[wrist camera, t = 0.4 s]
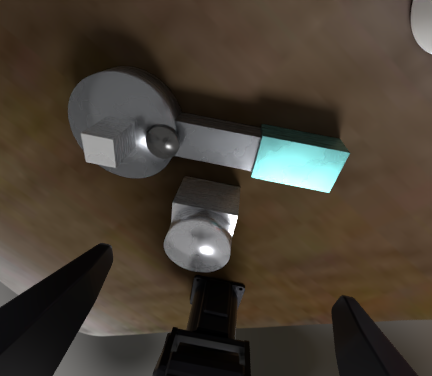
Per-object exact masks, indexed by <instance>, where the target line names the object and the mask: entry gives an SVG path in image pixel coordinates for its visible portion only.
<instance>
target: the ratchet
mask: <svg viewBox="0 0 432 376" xmlns="http://www.w3.org/2000/svg"><path fill="white" fill-rule="evenodd" d="M68 117H69V123H70V127H71V130H72V132H73V135H74V137H75V139H76V140H77V142H78V144H79V145H80V147H81V148H82V149H83V151H84V154H85V159H86V162H88V163H93V164H98V165H99V166H101V167H102V168H104V169H106V170H107V171H109V172H111V173H114V174H116V175H119V176H123V177H127V178H145V177H149V176H152V175H155V174H157V173H158V172H160V171H161V170H162V169H164V168H165V167H166V166H167V164H168V163H169V161H170V160H171V158H172V157H173V156H178V157H183V158H188V159H193V160H198V161H203V162H208V163H213V164H218V165H223V166H228V167H233V168H238V169H243V170H248V171H251V177H253V178H258V179H263V180H268V181H273V182H278V183H283V184H288V185H293V186H298V187H303V188H308V189H313V190H318V191H323V192H328V193H329V192H330V190H331V188H332V186H333V184H334V183H335V181H336V179H337V177H338V175H339V173H340V171H341V169H342V167H343V165H344V163H345V162H346V160H347V158H348V156H349V154H350V152H349V151H348V150H347V148H346V147H345V145H344V144H343V142H342V141H341V140H340V139H338V138H333V137H328V136H323V135H317V134H312V133H307V132H302V131H297V130H292V129H286V128H281V127H276V126H271V125H266V124H262V126H261V127H256V126H251V125H245V124H240V123H235V122H230V121H225V120H220V119H214V118H209V117H204V116H199V115H194V114H189V113H183V112H181V109H180V106H179V103H178V102H177V100H176V98H175V96H174V95H173V93H172V92H171V90H170V89H169V88H168V87H167V86H166V85H165V84H164V83H163V82H162V81H161V80H160V79H158V78H157V77H156V76H154V75H152V74H151V73H149V72H147V71H145V70H142V69H139V68H136V67H130V66H118V67H113V68H110V69H107V70H104V71H101V72H98V73H96V74H93V75H90V76H88V77H86V78H84V79H83V80H82V81H80V82H79V83H78V84H77V86H76V87H75V88H74V90H73V92H72V94H71V96H70V99H69V104H68Z"/></svg>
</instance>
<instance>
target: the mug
mask: <svg viewBox="0 0 432 376" xmlns="http://www.w3.org/2000/svg"><path fill="white" fill-rule="evenodd" d="M411 28H412V32H413V35H414V38H415V40H416V41H417V43H418V44H419V45H420V47H421V48H423V49H424V50H425V51H426V52H428V53H430V54H432V0H413V3H412V8H411Z"/></svg>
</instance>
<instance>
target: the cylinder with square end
mask: <svg viewBox="0 0 432 376" xmlns="http://www.w3.org/2000/svg"><path fill="white" fill-rule="evenodd" d="M239 198H240V187H238V186H233V185H228V184H223V183H218V182H213V181H208V180H203V179H198V178H193V177H188V176H184V178H183V181H182V183H181V185H180V187H179V189H178V191H177V194H176V196H175V198H174V200H173V202H172V219H171V225H170V228H169V230H168V233H167V235H166V238H165V240H164V249H165V252H166V254H167V256H168V257H169V258H170V259H171V260H172V261H173V262H174V263H175V264H177V265H178V266H180V267H182V268H185V269H187V270H190V271H195V272H212V271H216V270H218V269H220V268H222V267H223V266H225V265H226V264H227V262H228V261H229V258H230V251H231V242H232V236H233V232H234V228H235V225H236V221H237V217H238V209H239Z"/></svg>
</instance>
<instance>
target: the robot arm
mask: <svg viewBox="0 0 432 376" xmlns="http://www.w3.org/2000/svg"><path fill="white" fill-rule="evenodd" d="M112 263H113V253H112V246H111V245H109V244H105V243H100V244H98V245H96V246H95V247H93V248H92V249H90V250H88V251H87V252H85V253H84V254H82V255H81V256H79V257H78V258H76V259H74V260H73V261H71V262H70V263H68V264H67V265H65V266H64V267H62V268H60V269H59V270H57V271H56V272H54V273H53V274H51V275H50V276H48V277H46V278H45V279H43V280H42V281H40V282H39V283H37V284H36V285H34V286H32V287H31V288H29V289H28V290H26V291H25V292H23V293H22V294H20V295H18V296H17V297H15V298H14V299H12V300H11V301H9V302H8V303H6V304H5V305H3V306H1V307H0V376H53V374H54V372H55V371H56V369H57V367H58V366H59V364H60V362H61V360H62V359H63V357H64V355H65V354H66V352H67V350H68V348H69V347H70V345H71V343H72V341H73V340H74V338H75V336H76V334H77V333H78V331H79V329H80V328H81V326H82V324H83V322H84V321H85V319H86V317H87V315H88V314H89V312H90V310H91V308H92V307H93V305H94V303H95V301H96V299H97V297H98V295H99V292H100V290H101V288H102V286H103V283H104V281H105V279H106V277H107V274H108V272H109V270H110V268H111V265H112ZM244 291H245V286H244V285H242V284H238V283H233V282H229V281H224V280H219V279H214V278H210V277H205V276H200V275H196V276H195V277H194V282H193V288H192V294H191V300H190V304H192V307H191V312H190V316H189V321H188V325H187V329H186V330H182V329H178V328H177V327H173V329H172V332H171V333H168V334H167V337H166V341H165V345H164V348H163V351H162V353H161V355H160V357H159V360H158V362H157V365H156V367H155V369H154V372H153V376H251V374H250V373H251V371H250V348H249V341H246V340H245V341H241V340H236V339H235V334H236V319H237V309H238V307H239V304H240V301H241V299H242V296H243V294H244ZM332 322H333V332H334V343H335V352H336V359H337V365H338V369H339V375H340V376H418V375H417V374H416V372H415V371H414V370H413V369H412V368H411V366H410V365H409V364H408V363H407V361H406V360H405V359H404V358H403V357H402V355H401V354H400V353H399V352H398V351H397V349H396V348H395V347H394V346H393V344H391V342H390V341H389V340H388V338H387V337H386V336H385V335H384V334H383V332H381V330H380V329H379V328H378V326H377V325H376V324H375V323H374V321H373V320H372V319H371V318H370V317H369V315H368V314H367V313H366V312H365V311H364V309H363V308H362V307H361V306H360V305H359V303H358V302H357V301H356V300H355V299H354V298H353V297H349V296H345V295H342V296H340V298H339V299H338V300H337V301H336V303H335V304H334V305H333V307H332Z"/></svg>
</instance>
